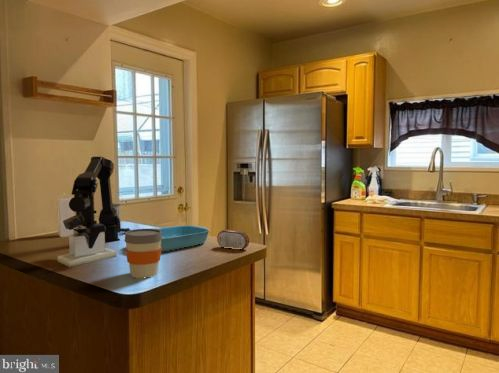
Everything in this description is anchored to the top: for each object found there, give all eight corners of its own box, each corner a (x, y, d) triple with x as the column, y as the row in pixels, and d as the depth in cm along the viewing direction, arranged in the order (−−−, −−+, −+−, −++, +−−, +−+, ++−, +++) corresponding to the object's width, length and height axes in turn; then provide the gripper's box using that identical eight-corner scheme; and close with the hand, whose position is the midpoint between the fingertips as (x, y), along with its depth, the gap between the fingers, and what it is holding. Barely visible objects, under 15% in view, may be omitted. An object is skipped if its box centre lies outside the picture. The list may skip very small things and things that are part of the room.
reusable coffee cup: (138, 267, 140) (138, 227, 139) (169, 270, 137) (168, 229, 135) (117, 278, 128) (116, 234, 127) (150, 281, 125) (149, 237, 123)
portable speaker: (249, 250, 168) (249, 231, 167) (246, 251, 165) (246, 232, 164) (219, 246, 174) (219, 228, 173) (216, 247, 171) (216, 229, 170)
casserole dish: (189, 236, 196) (189, 222, 195) (218, 243, 180) (218, 228, 180) (123, 248, 170) (122, 232, 169) (149, 258, 154) (149, 240, 154)
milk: (60, 237, 189) (58, 193, 187) (58, 235, 194) (56, 192, 192) (73, 236, 193) (72, 192, 191) (71, 233, 198) (69, 191, 196)
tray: (104, 252, 161) (103, 247, 161) (116, 256, 155) (116, 251, 155) (57, 261, 147) (57, 256, 147) (69, 266, 141) (69, 260, 140)
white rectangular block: (69, 255, 148) (68, 235, 147) (98, 249, 157) (98, 230, 156) (75, 257, 145) (74, 237, 144) (105, 251, 154) (104, 232, 153)
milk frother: (105, 229, 209) (105, 203, 208) (135, 229, 211) (134, 203, 209) (98, 235, 195) (97, 206, 194) (129, 235, 197) (129, 206, 195)
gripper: (55, 208, 149) (56, 247, 151) (76, 213, 137) (78, 255, 138) (83, 205, 158) (84, 242, 159) (105, 209, 146) (106, 249, 147)
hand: (87, 247), depth 151 cm, fingers closed on white rectangular block, 5 cm apart
